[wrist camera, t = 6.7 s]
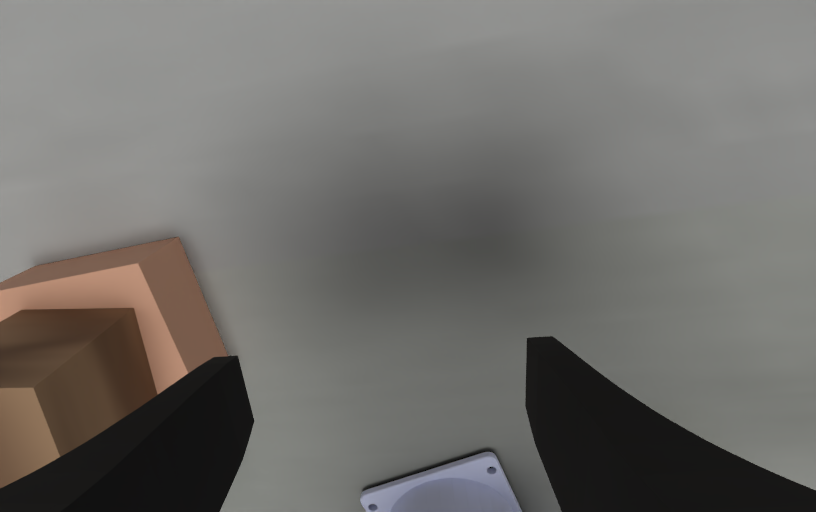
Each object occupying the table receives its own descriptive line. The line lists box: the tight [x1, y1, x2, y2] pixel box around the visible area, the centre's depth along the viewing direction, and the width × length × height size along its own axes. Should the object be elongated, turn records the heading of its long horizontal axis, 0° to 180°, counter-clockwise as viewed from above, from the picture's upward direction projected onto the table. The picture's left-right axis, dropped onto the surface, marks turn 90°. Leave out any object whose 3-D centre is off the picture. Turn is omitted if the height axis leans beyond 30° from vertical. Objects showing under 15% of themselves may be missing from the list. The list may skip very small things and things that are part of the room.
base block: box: [0, 237, 228, 394], centre depth 20 cm, size 7×7×4 cm
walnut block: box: [0, 308, 158, 488], centre depth 16 cm, size 4×4×5 cm
